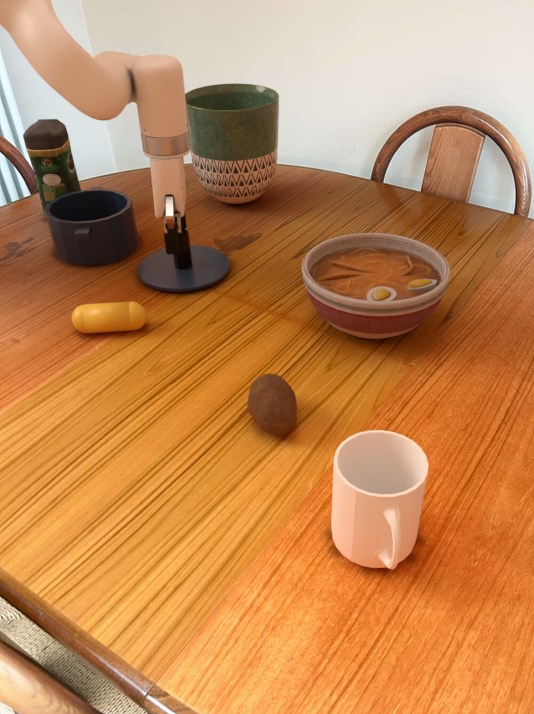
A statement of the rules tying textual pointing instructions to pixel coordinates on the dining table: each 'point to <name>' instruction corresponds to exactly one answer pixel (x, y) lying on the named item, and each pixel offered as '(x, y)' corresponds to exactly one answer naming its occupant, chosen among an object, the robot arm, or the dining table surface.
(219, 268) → the lid
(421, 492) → the mug
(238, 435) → the dining table surface
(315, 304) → the bowl
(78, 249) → the pot
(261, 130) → the planter
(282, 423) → the potato
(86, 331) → the yellow capsule
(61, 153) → the coffee jar
